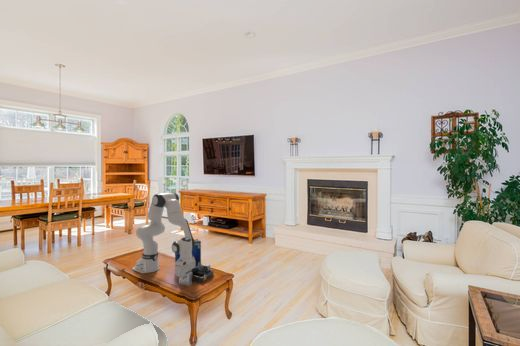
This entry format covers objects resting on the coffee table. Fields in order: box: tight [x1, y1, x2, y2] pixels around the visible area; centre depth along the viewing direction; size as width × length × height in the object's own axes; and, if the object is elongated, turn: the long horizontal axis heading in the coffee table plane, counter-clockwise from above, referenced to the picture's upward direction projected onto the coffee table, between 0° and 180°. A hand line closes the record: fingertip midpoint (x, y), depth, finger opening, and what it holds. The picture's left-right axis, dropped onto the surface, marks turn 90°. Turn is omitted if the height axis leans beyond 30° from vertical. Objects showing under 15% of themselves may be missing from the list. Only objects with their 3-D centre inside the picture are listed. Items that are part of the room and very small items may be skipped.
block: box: [178, 271, 193, 287], centre depth 199 cm, size 9×4×9 cm, turn 68°
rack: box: [191, 262, 215, 284], centre depth 210 cm, size 13×16×9 cm
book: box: [174, 239, 202, 272], centre depth 223 cm, size 22×7×25 cm, turn 126°
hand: (185, 277), depth 199 cm, fingers open, 6 cm apart
